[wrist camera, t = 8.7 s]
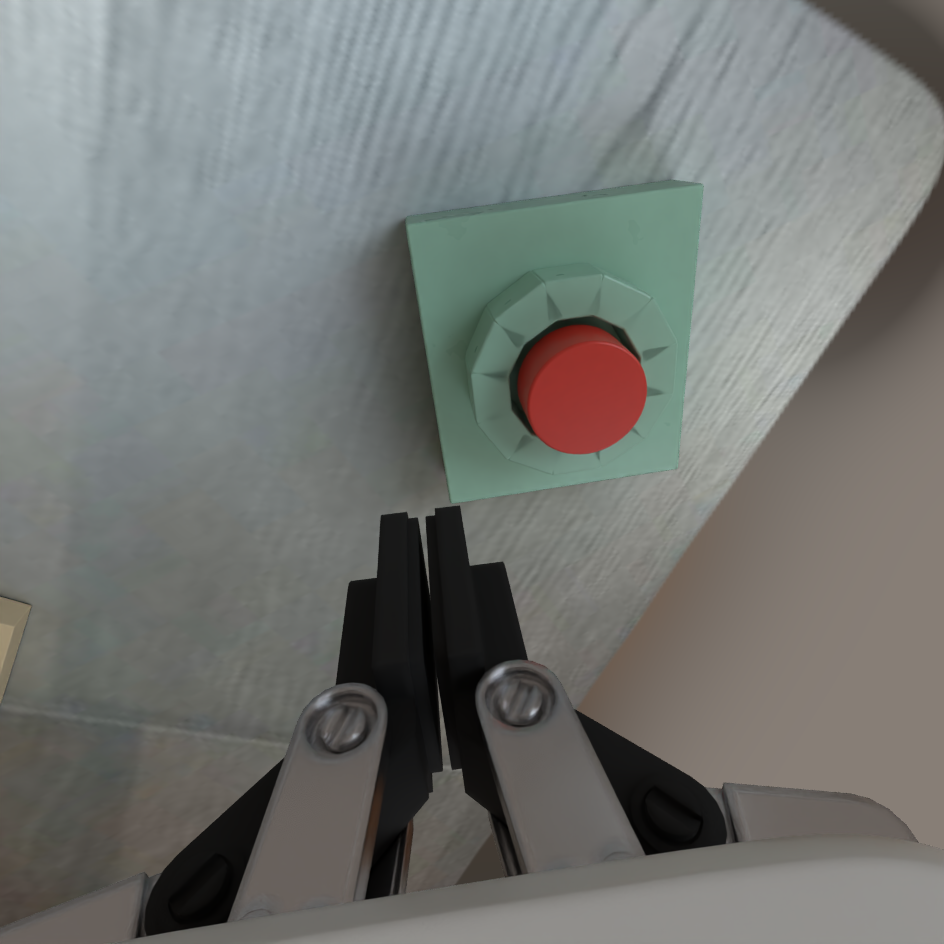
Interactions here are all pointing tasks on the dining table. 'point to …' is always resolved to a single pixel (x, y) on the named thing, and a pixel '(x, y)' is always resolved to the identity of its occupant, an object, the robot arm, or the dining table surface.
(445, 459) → the control block
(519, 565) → the dining table surface
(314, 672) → the dining table surface
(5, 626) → the beige upright bracket
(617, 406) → the button
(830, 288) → the dining table surface
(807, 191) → the dining table surface
